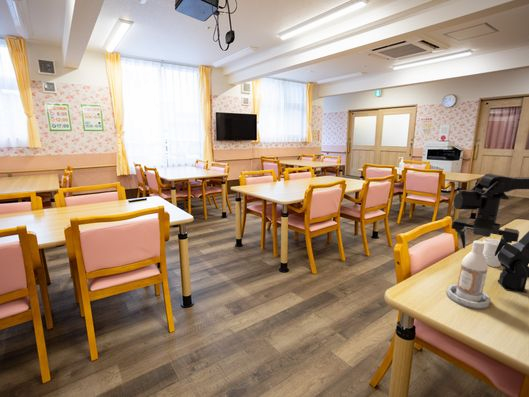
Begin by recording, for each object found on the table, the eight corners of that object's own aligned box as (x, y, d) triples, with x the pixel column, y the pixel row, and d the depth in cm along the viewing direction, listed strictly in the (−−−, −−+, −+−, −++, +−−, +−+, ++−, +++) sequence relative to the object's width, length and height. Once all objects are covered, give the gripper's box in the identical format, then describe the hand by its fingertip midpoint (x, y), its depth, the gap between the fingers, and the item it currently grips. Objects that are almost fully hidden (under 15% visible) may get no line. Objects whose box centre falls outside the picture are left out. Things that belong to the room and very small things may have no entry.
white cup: (503, 269, 118) (508, 247, 116) (479, 264, 122) (484, 242, 120) (500, 262, 124) (505, 240, 122) (478, 257, 129) (482, 237, 126)
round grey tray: (480, 292, 101) (481, 287, 101) (496, 312, 90) (497, 306, 90) (442, 286, 105) (443, 281, 104) (452, 305, 94) (453, 300, 93)
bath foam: (451, 293, 99) (461, 239, 95) (465, 289, 102) (475, 237, 97) (470, 304, 93) (482, 247, 88) (485, 300, 95) (497, 244, 91)
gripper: (451, 209, 100) (444, 251, 104) (522, 221, 88) (511, 268, 92) (458, 203, 108) (451, 242, 112) (523, 214, 96) (513, 257, 100)
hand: (479, 251), depth 104 cm, fingers open, 9 cm apart
